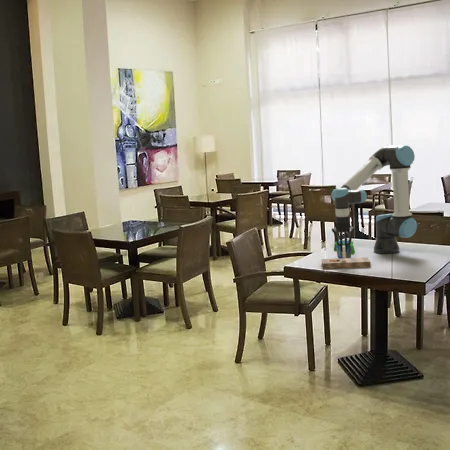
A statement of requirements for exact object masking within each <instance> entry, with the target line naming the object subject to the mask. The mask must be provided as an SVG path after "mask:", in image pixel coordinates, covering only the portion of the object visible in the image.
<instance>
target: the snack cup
mask: <svg viewBox="0 0 450 450" xmlns="http://www.w3.org/2000/svg"><path fill="white" fill-rule="evenodd" d="M348 241H349V240H347V243H348ZM338 242H339V243H340V240H338ZM342 243H343V246H345V239H344V240H343V239H342ZM333 251H334V252H336V255H337V258H343V253H342V252H341V251H340V246H338V245H337V243H336V241H334V245H333ZM355 253H356V251H355V246H354V241H352V240H351V244H350V245H348V246H347V252H346V258H352V256H354V255H356V254H355Z"/></svg>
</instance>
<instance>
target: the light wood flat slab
mask: <svg viewBox="0 0 450 450" xmlns="http://www.w3.org/2000/svg"><path fill="white" fill-rule="evenodd" d="M332 259H333V258H321V266H322V269H323V270H325V269H328V270H329V269H349V268H350V269H353V268H354V269H355V268H371V265H372V264H371V262H372V261H371V260H370V259H369V257H368V256H367V257H364V256H363V257H351V258H338V257H337V258H334V259H335V260H336V261H337V262H330V261H331V260H332Z"/></svg>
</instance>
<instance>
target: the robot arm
mask: <svg viewBox="0 0 450 450" xmlns="http://www.w3.org/2000/svg"><path fill="white" fill-rule="evenodd" d="M415 157H416V156H415V152H414V150H413V149H412V148H411V146H410V145H405V144H404V145H403V144H397V145H385V146H383V147H381V148H379V149H378V150H377V151H376V152H374V153H373V154H372V155H371V156H370V157H369V158H368V161H367V162H366V163H365V164H364V165H363V166H362V167H360V168H359V169H358V170H357V171H356V172H355V173H354V174H353V175H352V176H351V177H350V178H349V179H348V180H347V181H346V182H345V183H344V184H343V185H342V186H340V187H339V188H334V189H332V192H331V194H330V195H331V196H330V197H331V200H333V201H334V207H335V208H334V209H335V225H334V227H332V228H331V232H332V233H333V235H334V238H335V242H336V243H337V245H338V246H340V251H341V252H342V253H343V258H346V252H347V246H348V245H350V244H351V241H352V238H353V234H354V231H355V230H356V229H355V227H353V226H351V223H350V222H351V221H350V205H353V204H355V205H356V204H361V203H365V202H366V200H367V198H368V195H367V192H366V191H365V190H364V189H359V188H361V186H362V185H364V184H365V182H367V180H369V179H370V178H371V177H372V176H373V175H374V174H375V173H376V172H377V171H380V170H382V169H383V168H385V167H387V166H389V170H390V171H391V172H392V186H393V187H392V188H393V190H392V191H393V213H387V214H386V213H384V214H378V215H377V216H376V217H375V232H376V234H375V235H376V239H375V243H374V245H373V246H374V247H373V252H374V253H377V254H395V253H399V252H400V246H399V243H398V240H397V237H399V238H406V239H407V238H411V237H413V236H414V235H415V234H416V231H417V227H418V223H417V221H416V219H415V218H413V213H412V212H410V194H409V193H410V192H409V191H410V190H409V170H410V169H411V165H412V164H414V161H415V159H416V158H415ZM349 230H350V232H349ZM337 231H338V233H339V239H338V235H337ZM348 232H349V237H348V235H347V234H348ZM343 233H344V240H345V246H343V243H342V240H343ZM338 241H340V243H339V242H338ZM347 241H348V243H347Z"/></svg>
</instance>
